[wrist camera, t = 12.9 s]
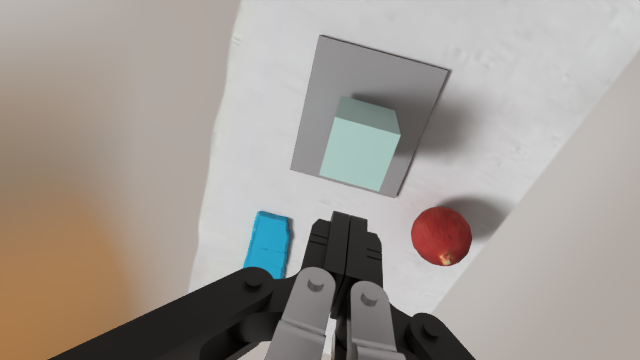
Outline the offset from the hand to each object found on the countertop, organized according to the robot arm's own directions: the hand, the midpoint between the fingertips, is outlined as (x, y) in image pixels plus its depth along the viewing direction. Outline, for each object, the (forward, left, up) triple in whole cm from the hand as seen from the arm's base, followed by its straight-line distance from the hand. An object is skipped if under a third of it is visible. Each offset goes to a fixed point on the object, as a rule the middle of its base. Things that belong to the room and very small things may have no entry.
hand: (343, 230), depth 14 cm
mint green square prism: (+2, +1, -19) cm, 19 cm away
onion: (+10, +12, -21) cm, 26 cm away
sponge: (+22, -6, -21) cm, 31 cm away
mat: (+2, +1, -21) cm, 21 cm away
